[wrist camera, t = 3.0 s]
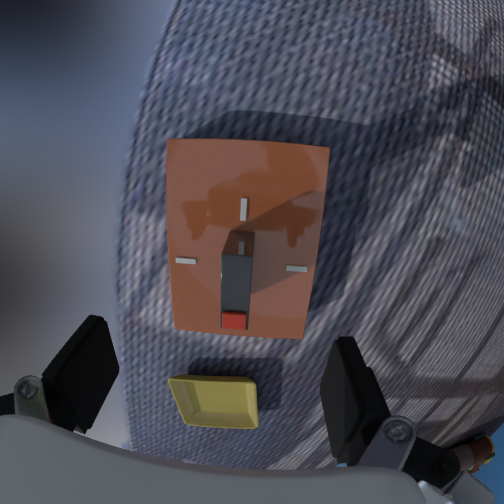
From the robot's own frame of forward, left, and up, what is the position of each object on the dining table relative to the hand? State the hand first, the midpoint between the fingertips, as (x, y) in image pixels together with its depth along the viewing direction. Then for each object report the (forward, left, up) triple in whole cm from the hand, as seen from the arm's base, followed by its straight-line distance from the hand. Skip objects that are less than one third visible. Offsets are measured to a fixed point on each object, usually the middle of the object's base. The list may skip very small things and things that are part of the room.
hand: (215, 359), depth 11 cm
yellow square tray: (+17, -2, -12) cm, 21 cm away
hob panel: (-1, 0, -12) cm, 12 cm away
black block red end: (0, 0, -9) cm, 9 cm away
